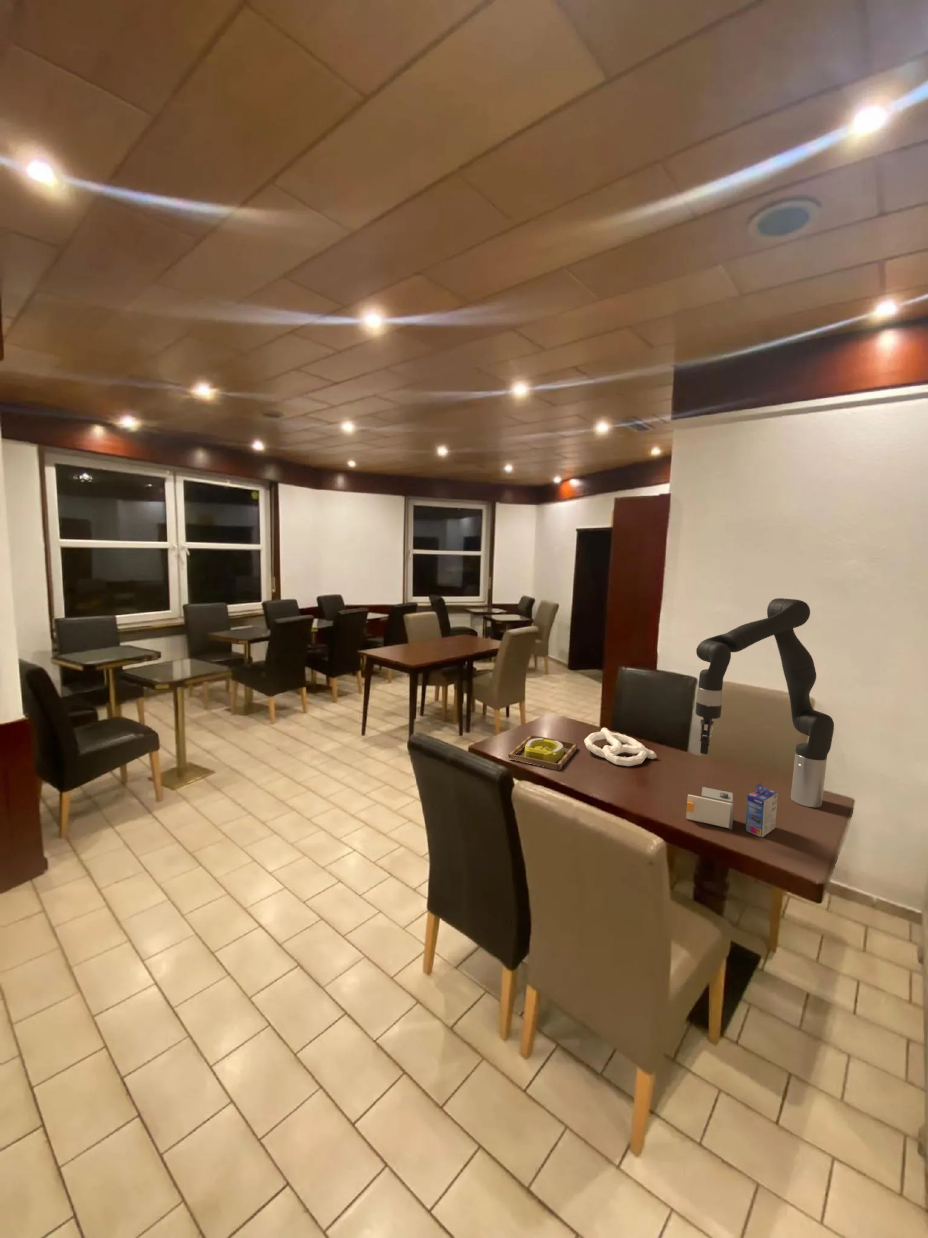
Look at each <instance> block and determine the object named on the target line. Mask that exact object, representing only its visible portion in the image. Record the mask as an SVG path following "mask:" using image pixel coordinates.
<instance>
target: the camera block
mask: <svg viewBox="0 0 928 1238" xmlns="http://www.w3.org/2000/svg"><path fill="white" fill-rule="evenodd" d="M700 797H703V798H708V799H713V800H717V801H722V802H727V803H733V801H734V799H733V797H734V794H733V792H731V791H726V790H725V791H724V790H719V789H715V788H709V787H705V786H702V789H701V796H700ZM733 804H734V803H733Z"/></svg>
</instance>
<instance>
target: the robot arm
mask: <svg viewBox="0 0 928 1238" xmlns="http://www.w3.org/2000/svg"><path fill="white" fill-rule="evenodd" d="M766 614H767V617H766V618H763V619H758V620H755V621H750V622H747V623H744V624H742V625H739V626H737V627H736V628H734V629H731V630H730V631H728V632H726V633H723V634H718V635H715V636H712V637H708V638H706V639H704V640H702V641H701V642H699V644H698V645H697V647H696V648H695V649H696V650H695V652H696V655H697V658H699V659H700V660H702V661H703V662H706V663H709V666H708V668H707V669H702V670H701V671H700V672H699V676H698V687H697V692H696V703H695V715H696V716H698V717H700V718H701V719H700V721H699V726H700V730H699V734H700V739H699V742H700V750H699V751H700V752H699V753H700V754H702V755H708V754H709V746H710V743H711V742H710V741H711V738H712V736H713V735H712V733H713V730H714V727H715V726H714V725H715V721H713V719H714V720H716V719H720V718H721V716H722V708H723V705H722V704H723V687H724V685H723V684H724V677H725V675H726V673H727V669H728V667H729V665H730V662H731V658H732V653H737V652H741V651H743V650H745V649H747V648H749V647H750V646H752V645H755V644H756V643H758V642H760V641H762V640H765V639H767V638H770V637H772V636H774V639H775V642H776V645H777V649H778V653H779V658H780V660H781V667H782V671H783V675H784V678H785V682H786V686H787V687H786V688H787V692H788V696H789V703H790V712H791V720H792V724H793V728H795V731H798V732H799V733H801V734H803V735H804V736H808V741H807V743H806V742H805V743H802V742H801V743H798V744H796V745H795V750H794V751H795V752H794V753H795V754H794V763H793V774H792V780H791V781H792V782H791V791H790V799H791V801H792V802H794V803H795V804H798V805H801V806H804V807H806V808H807V807H808V808H809V807H810V808H821V806H822V804H823V795H824V789H825V788H824V786H825V779H826V769H827V761H828V760H827V759H828V754H829V752H830V751H831V749H832V748H831V747H832V742H833V737H834V731H835V724H834V720H833V718H832V717H831V716H830V715H828V714H826V713H824V712H821V711H819V710H818V711H817V710H815V709H814V708H813V707H812V703H811V697H810V693H811V690H812V689H813V687H814V686H815V685H814V684H816V681H817V671H816V668H815V662H814V659H813V657H812V655H811V653H810V652H809V651H808V649H807V648H806V647H805V646H804V644H803V643H802V642H801V641H800V639H799V638H798V636H797V635H796V633H795V630H794V629H795V628H799V627H801V626H804V624H806V623H807V621H808V620H809V618H810V615H811V609H810V605H809V604H808V603H807V602H805V601H803V600H800V599H796V598H795V599H793V598H783V597H782V598H780V597H778V598H774V599H772V600H770V602H769V604H768V605H767V609H766ZM702 718H703V719H702Z"/></svg>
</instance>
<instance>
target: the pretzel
mask: <svg viewBox="0 0 928 1238" xmlns="http://www.w3.org/2000/svg"><path fill="white" fill-rule="evenodd" d="M600 740H606V741H607V743H609V744H610V745H607V744H606V745H604V746H603V747H602V748H601V747H599V746H597V745H595V744H594V742H595V741H600ZM583 741H584V745H585V747H586V750H588V751H590V752H591V753H593V754H594V755H596V756H599V757H601V758H605V759H606V760H607V761H609V762H610V763H612V764H614V765H619V766H625V767H632V766H637V765H641V764H642V763H643V762H644V761H645V759H646V758H647V759H651V760H654V759H657V754H656V752H655V751H654V750H652V749H648V748H646V747H645V745H644V744H643V743H641V742H639V741H638V740H637V739H634V738H633V737H631V736H627V735H626V734H621V733H620V732H614V731H613V732H612V731H610V730H609V729H608V728H607V727H602V728H601V729H600V731H596V732H592V733H590V734H588V736H587V737H585V739H584V740H583ZM622 743H624V744H622ZM623 753H629V754H632V756H629V757H627V756H619V755H620V754H623ZM635 754H637V755H635Z"/></svg>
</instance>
